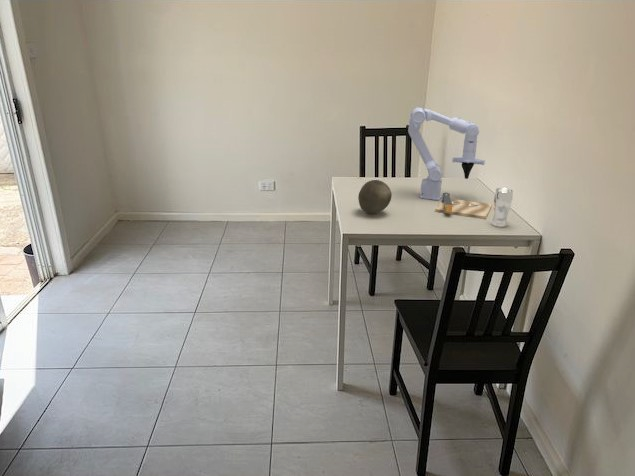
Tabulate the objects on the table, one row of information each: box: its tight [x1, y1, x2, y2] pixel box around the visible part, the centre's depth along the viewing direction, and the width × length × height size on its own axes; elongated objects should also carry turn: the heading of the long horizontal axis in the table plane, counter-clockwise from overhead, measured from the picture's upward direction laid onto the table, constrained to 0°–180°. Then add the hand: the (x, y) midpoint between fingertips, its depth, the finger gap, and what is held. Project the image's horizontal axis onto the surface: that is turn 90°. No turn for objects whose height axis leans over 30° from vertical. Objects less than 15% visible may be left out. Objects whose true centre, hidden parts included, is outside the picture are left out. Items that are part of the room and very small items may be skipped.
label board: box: [434, 198, 493, 220], centre depth 215 cm, size 22×18×2 cm
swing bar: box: [441, 192, 453, 212], centre depth 213 cm, size 19×3×3 cm, turn 170°
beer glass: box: [491, 187, 514, 228], centre depth 195 cm, size 7×7×15 cm
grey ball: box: [357, 179, 393, 215], centre depth 208 cm, size 14×14×15 cm
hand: (466, 178), depth 225 cm, fingers closed
